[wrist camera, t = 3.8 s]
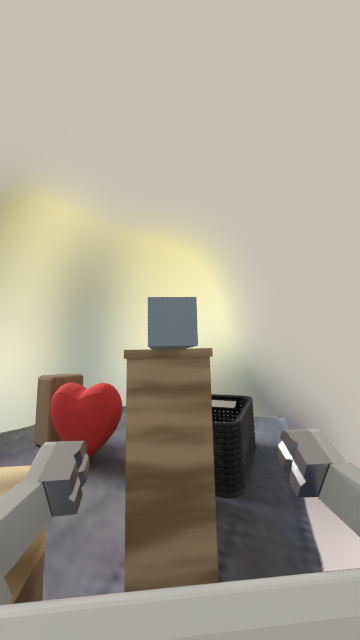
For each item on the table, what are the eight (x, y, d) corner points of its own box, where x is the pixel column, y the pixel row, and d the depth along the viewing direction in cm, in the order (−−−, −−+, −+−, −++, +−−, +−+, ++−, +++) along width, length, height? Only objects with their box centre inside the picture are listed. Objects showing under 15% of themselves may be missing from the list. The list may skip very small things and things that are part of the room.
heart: (128, 456, 61) (129, 381, 64) (110, 472, 53) (111, 385, 55) (63, 450, 66) (66, 380, 69) (37, 463, 58) (41, 384, 61)
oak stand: (222, 594, 25) (212, 348, 29) (121, 605, 24) (124, 349, 28) (196, 494, 44) (192, 351, 48) (137, 498, 43) (138, 352, 47)
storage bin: (241, 503, 41) (237, 421, 43) (144, 483, 49) (144, 413, 50) (257, 444, 67) (253, 395, 69) (192, 437, 75) (191, 393, 77)
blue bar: (197, 345, 19) (196, 297, 20) (148, 346, 19) (147, 297, 20) (176, 351, 45) (175, 330, 46) (154, 351, 45) (154, 330, 45)
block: (32, 444, 71) (37, 375, 74) (65, 435, 79) (68, 373, 82) (48, 452, 65) (52, 376, 68) (82, 441, 73) (84, 374, 76)
